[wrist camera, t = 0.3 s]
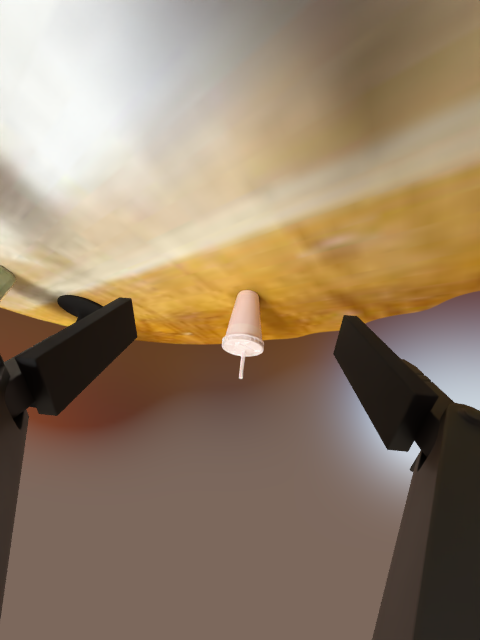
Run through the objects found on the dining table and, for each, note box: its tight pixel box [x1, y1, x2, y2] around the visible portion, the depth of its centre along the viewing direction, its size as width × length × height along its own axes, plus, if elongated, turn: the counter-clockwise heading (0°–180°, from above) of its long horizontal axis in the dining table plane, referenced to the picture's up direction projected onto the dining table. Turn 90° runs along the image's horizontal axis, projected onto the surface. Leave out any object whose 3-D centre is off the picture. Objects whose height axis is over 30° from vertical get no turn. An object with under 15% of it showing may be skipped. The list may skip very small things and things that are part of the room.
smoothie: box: [222, 290, 264, 379], centre depth 35 cm, size 6×6×14 cm
